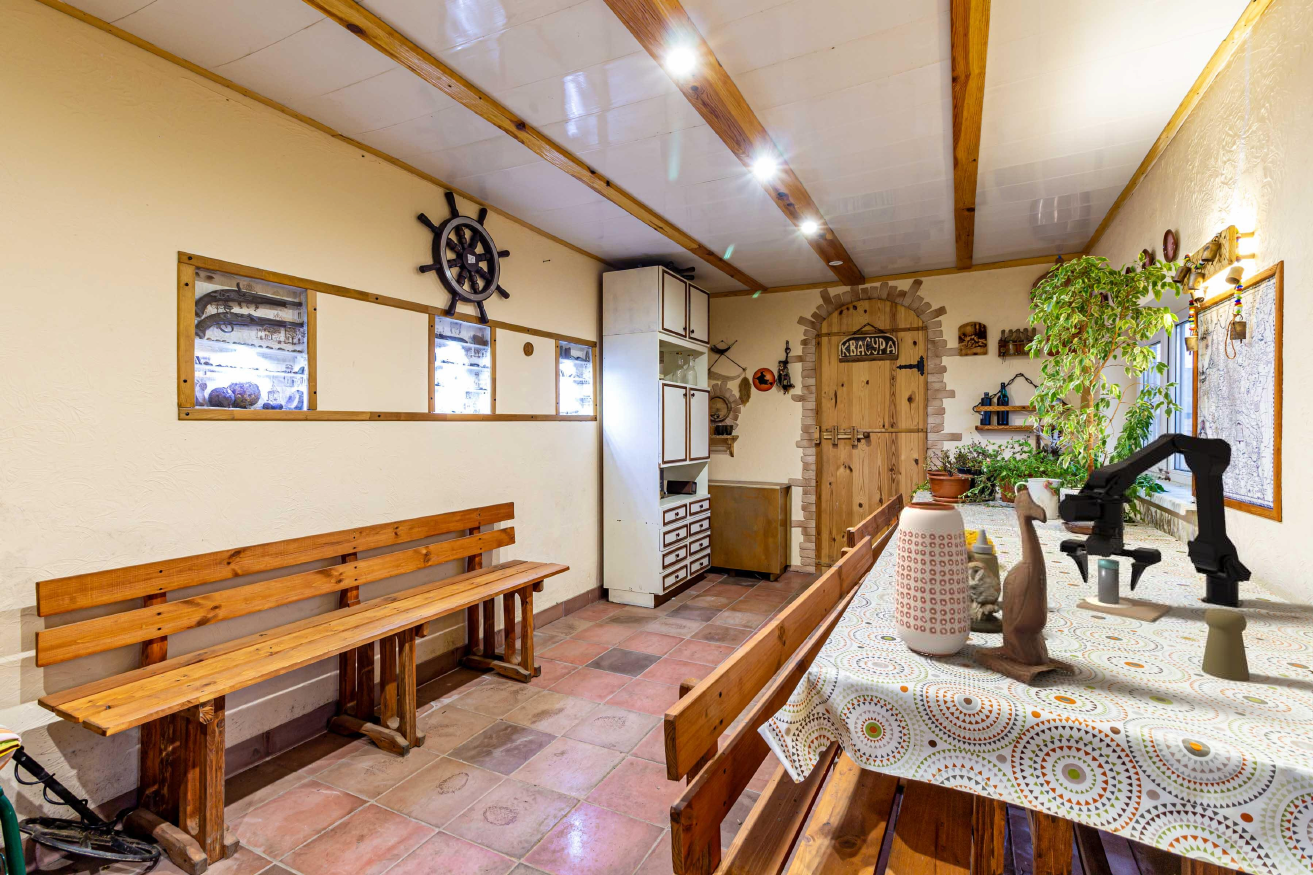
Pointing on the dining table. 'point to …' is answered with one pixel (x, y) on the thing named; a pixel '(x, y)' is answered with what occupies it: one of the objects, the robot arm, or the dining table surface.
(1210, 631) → the cork
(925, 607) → the patterned ceramic vase
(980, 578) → the owl figurine
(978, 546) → the squeeze bottle
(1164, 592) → the dining table surface
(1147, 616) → the kraft pad
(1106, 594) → the marker
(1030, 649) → the bird sculpture
